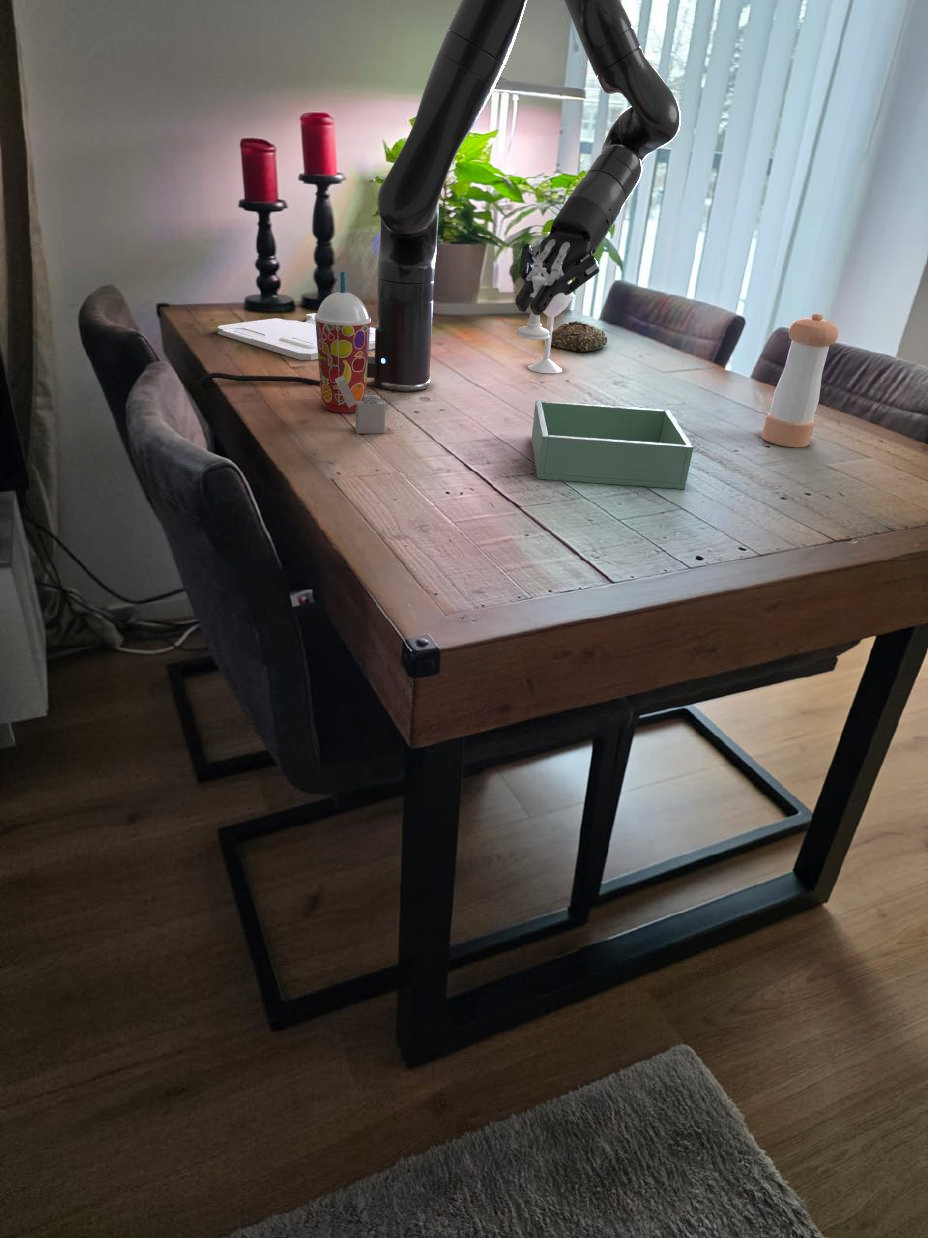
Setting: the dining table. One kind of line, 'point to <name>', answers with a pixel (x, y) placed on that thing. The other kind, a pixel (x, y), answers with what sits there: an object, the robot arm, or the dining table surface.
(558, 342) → the bread roll
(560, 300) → the champagne flute
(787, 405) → the pepper shaker
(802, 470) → the dining table surface
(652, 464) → the open box
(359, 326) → the smoothie
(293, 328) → the tray
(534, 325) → the chess piece
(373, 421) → the lighter
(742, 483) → the dining table surface
